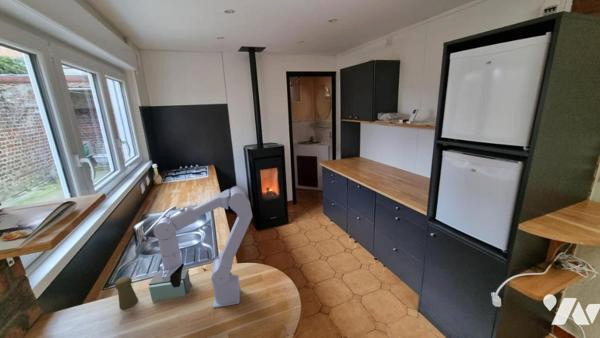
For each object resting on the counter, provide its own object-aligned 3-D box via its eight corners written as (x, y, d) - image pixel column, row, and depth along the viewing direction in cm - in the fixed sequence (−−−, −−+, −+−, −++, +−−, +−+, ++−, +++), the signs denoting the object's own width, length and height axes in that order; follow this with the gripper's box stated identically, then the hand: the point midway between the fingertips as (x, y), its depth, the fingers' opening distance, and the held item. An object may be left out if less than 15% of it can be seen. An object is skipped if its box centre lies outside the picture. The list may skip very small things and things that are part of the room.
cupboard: (191, 283, 104) (188, 269, 103) (187, 293, 99) (184, 278, 97) (158, 289, 102) (155, 274, 101) (152, 299, 97) (149, 284, 95)
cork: (128, 310, 92) (121, 285, 89) (115, 308, 93) (108, 283, 90) (141, 298, 98) (135, 274, 95) (129, 297, 99) (122, 273, 96)
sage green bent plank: (185, 293, 98) (183, 280, 97) (184, 295, 97) (182, 282, 95) (153, 298, 96) (150, 285, 95) (152, 301, 95) (148, 287, 94)
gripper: (165, 242, 91) (171, 274, 94) (148, 266, 77) (157, 303, 80) (185, 240, 92) (191, 271, 95) (172, 263, 78) (180, 299, 81)
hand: (177, 285), depth 88 cm, fingers closed
